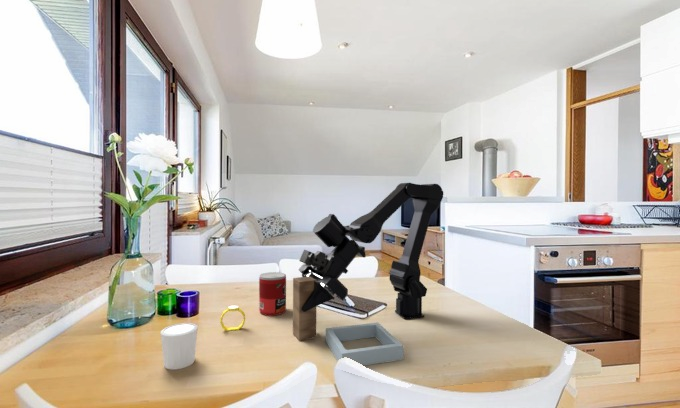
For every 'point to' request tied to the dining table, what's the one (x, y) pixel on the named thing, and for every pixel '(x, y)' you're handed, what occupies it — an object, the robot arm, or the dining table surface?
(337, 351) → the frame
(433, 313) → the dining table surface
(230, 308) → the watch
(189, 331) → the white cup
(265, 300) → the canned food
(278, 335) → the dining table surface
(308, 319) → the tall wooden post
